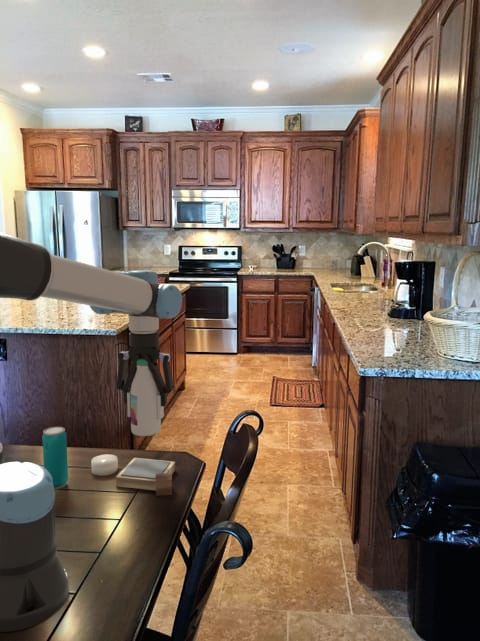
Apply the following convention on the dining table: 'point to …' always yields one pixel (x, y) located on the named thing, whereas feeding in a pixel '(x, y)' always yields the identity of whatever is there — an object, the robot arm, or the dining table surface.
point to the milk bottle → (144, 402)
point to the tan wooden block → (163, 484)
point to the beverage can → (56, 455)
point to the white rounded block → (104, 465)
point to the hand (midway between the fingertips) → (145, 416)
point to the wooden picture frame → (143, 473)
